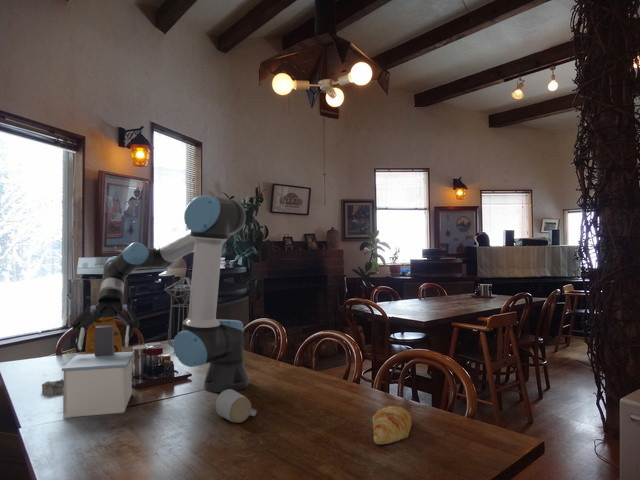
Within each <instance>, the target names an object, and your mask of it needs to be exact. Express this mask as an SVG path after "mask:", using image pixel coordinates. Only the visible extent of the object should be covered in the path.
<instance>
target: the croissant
mask: <svg viewBox="0 0 640 480" xmlns="http://www.w3.org/2000/svg"><path fill="white" fill-rule="evenodd" d="M412 422H413V421H412V416H411V414H410V412H409V411H408V409H406V408H403V407H402V406H401V405H389V406H384V407H382V408H380V409H378V410H377V411H376V412H375V413H374V415H373V416H372V432H373V442H374V443H375V444H376V445H380V446H381V445H388V444H392V443H395V442H399V441H401V439H402V440H404V439H407V438H408V437H409V436H410V431H411V429H412V428H411V427H412Z"/></svg>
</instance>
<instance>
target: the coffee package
mask: <svg viewBox="0 0 640 480" xmlns="http://www.w3.org/2000/svg"><path fill="white" fill-rule="evenodd" d="M115 318H117V317H116V316H114V317H106V318H103V317H101V318H100V319H99V320H96V321H95V322H94V323H92V324H91V325H90V326H89V327H87V328H88V329H87V331H86V338H85V354H95V327H97V326H104V325H114V353H118V352H123V351H122V348H123V346H122V345H123V338H122V336H121V332H120V330H119V328H118V326H117V323H116V320H115Z"/></svg>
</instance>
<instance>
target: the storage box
mask: <svg viewBox="0 0 640 480" xmlns="http://www.w3.org/2000/svg"><path fill="white" fill-rule="evenodd" d="M132 367H133V357H132V358H131V360H130V361H129V363H128V365H127V367H119V368H104V369H88V370H73V371H63V380H64V389H63V393H62V395H63V399H62V400H63V401H62V404H63V406H62V408H63V410H62V413H63V414H62V418H76V417H77V418H78V417H87V416H98V415H108V414H110V415H111V414H119V413H120V414H121V413H122V414H123V413H125V412H126V409H127V406H128V404H129V401H130V400H131V397H132V394H133V391H132V390H133V387H132V386H133V385H132V384H133V382H132V381H133V374H132V373H133V368H132Z"/></svg>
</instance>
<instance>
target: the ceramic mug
mask: <svg viewBox="0 0 640 480" xmlns="http://www.w3.org/2000/svg"><path fill="white" fill-rule="evenodd" d="M214 405H215V411H216V413H217V414H218V415H219V417H222V418H223V419H225V420H228V421H230V422H231V423H234V424H241V423H243V422H245V421H246V420H247V419H249V416H251V417H256V415H257V409H255V408H253V407H252V403H251V401H250V400H249V399H248V398H247V397H246V396H245V395H243V394H241V393H240V392H238V391H234V390H232V389H227V390H225V391H223V392H220V393H219V394H218V397H217V398H216V401H215V404H214Z"/></svg>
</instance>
